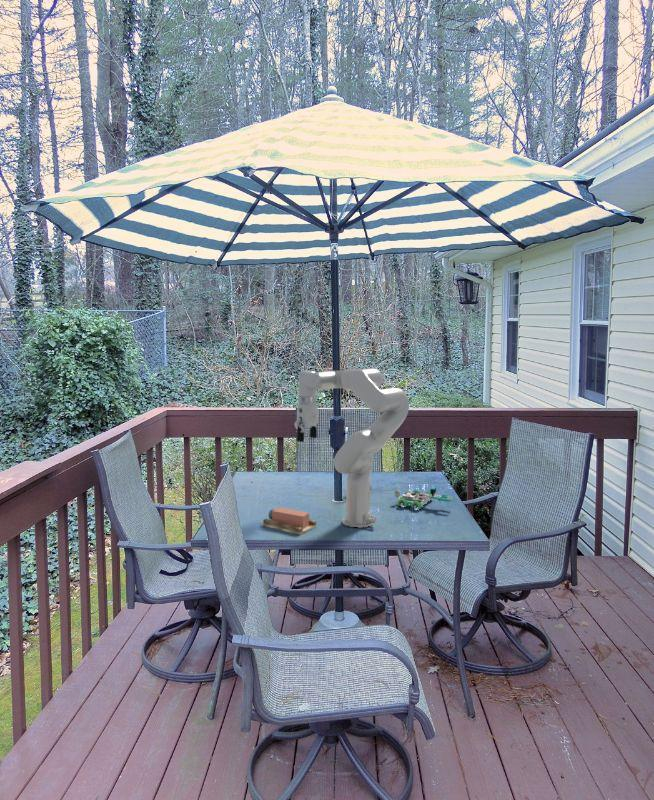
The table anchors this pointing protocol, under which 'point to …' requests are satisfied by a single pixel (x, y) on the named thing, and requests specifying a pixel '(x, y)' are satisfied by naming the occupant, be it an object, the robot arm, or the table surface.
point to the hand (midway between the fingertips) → (306, 439)
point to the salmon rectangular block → (290, 517)
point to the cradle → (288, 526)
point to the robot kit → (419, 498)
